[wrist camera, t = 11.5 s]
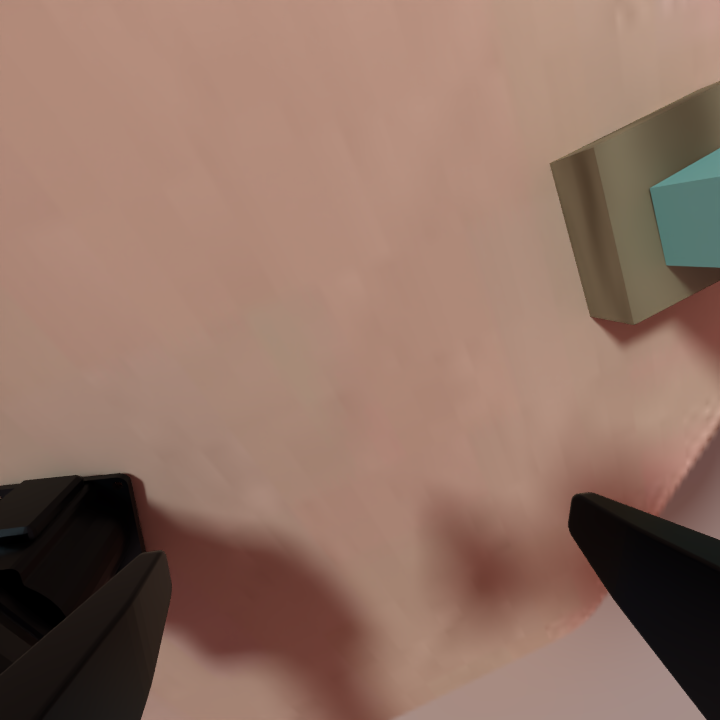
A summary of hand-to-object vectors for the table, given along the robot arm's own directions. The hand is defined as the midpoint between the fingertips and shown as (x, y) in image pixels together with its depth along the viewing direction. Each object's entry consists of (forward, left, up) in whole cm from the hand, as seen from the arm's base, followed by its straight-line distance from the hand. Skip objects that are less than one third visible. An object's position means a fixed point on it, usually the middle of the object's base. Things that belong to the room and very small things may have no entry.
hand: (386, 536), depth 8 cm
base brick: (+8, -18, -14) cm, 24 cm away
